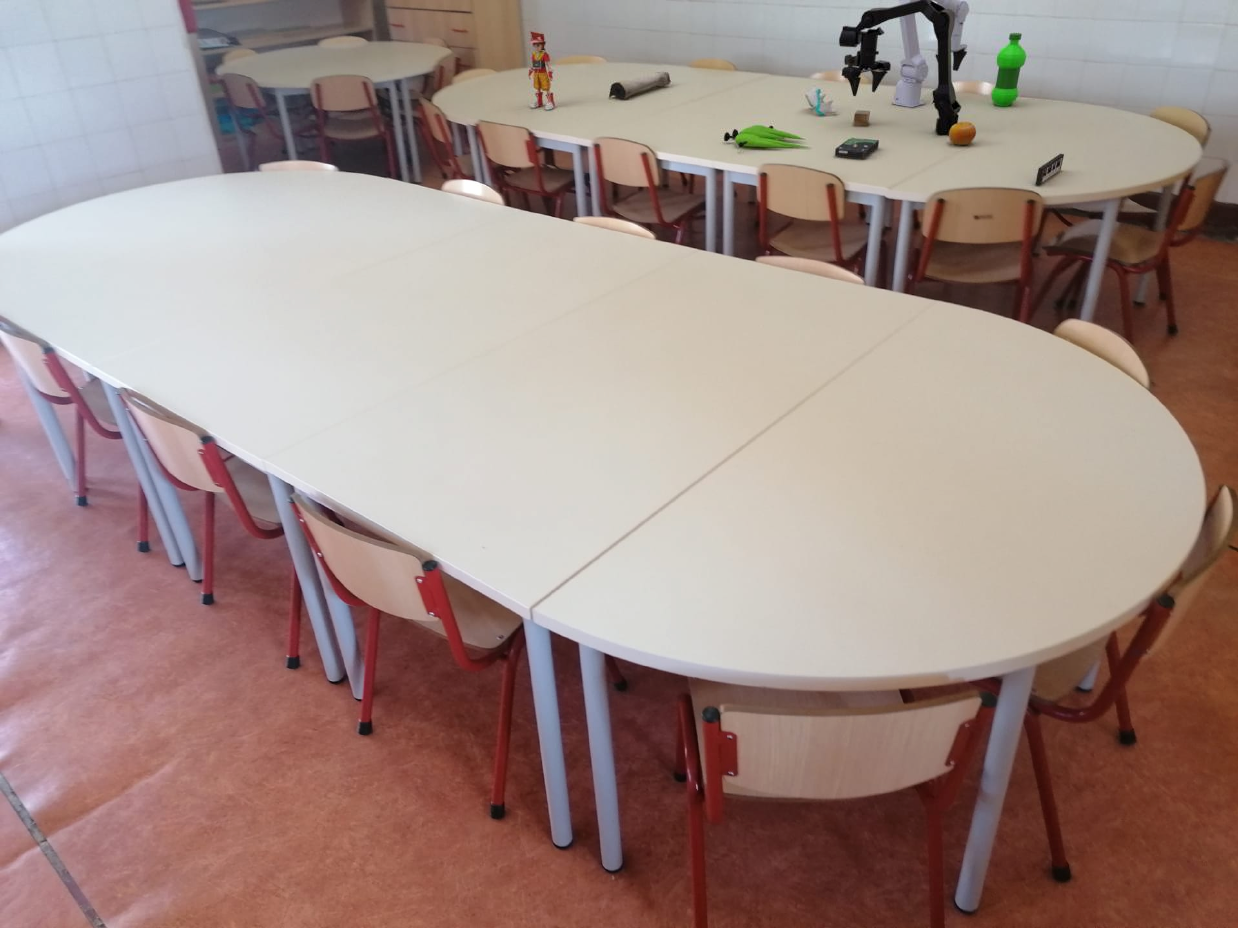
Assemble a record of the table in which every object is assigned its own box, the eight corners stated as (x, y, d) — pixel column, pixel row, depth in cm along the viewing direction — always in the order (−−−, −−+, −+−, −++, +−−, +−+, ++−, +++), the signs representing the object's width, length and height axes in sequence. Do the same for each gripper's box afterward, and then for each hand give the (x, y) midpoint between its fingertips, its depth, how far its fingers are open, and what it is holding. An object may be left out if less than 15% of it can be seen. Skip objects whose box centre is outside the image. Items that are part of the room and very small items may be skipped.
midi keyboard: (1039, 185, 269) (1043, 168, 266) (1035, 184, 270) (1038, 168, 267) (1060, 170, 279) (1064, 154, 277) (1056, 169, 280) (1060, 153, 277)
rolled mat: (651, 76, 408) (662, 61, 399) (662, 93, 408) (674, 79, 400) (605, 92, 391) (616, 77, 383) (617, 110, 391) (628, 95, 383)
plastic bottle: (1022, 104, 346) (1036, 33, 332) (1005, 109, 342) (1018, 37, 328) (1000, 100, 353) (1012, 30, 339) (983, 104, 349) (995, 34, 335)
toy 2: (713, 146, 317) (792, 161, 304) (715, 131, 314) (794, 145, 301) (747, 132, 337) (821, 146, 325) (748, 118, 334) (824, 131, 322)
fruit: (944, 129, 311) (958, 112, 304) (966, 137, 313) (980, 120, 306) (944, 146, 307) (958, 129, 300) (966, 154, 309) (980, 138, 302)
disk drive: (864, 160, 299) (878, 148, 309) (864, 151, 297) (879, 139, 307) (834, 157, 304) (849, 145, 314) (835, 148, 302) (850, 136, 312)
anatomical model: (800, 85, 355) (825, 78, 354) (804, 112, 360) (828, 105, 360) (810, 94, 342) (836, 87, 341) (813, 121, 348) (839, 114, 347)
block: (868, 123, 336) (869, 110, 334) (866, 126, 333) (867, 114, 330) (855, 122, 338) (857, 110, 336) (853, 126, 334) (854, 113, 332)
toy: (525, 109, 381) (517, 32, 364) (534, 104, 388) (527, 28, 371) (550, 110, 377) (543, 32, 360) (559, 105, 384) (553, 28, 367)
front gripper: (872, 41, 330) (867, 86, 339) (833, 49, 323) (829, 94, 332) (894, 45, 322) (888, 91, 331) (854, 53, 315) (850, 100, 323)
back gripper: (959, 31, 355) (953, 67, 363) (932, 36, 350) (927, 73, 358) (973, 33, 350) (967, 70, 358) (946, 38, 345) (941, 76, 352)
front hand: (863, 94), depth 329 cm, fingers open, 9 cm apart
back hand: (948, 72), depth 357 cm, fingers open, 7 cm apart
